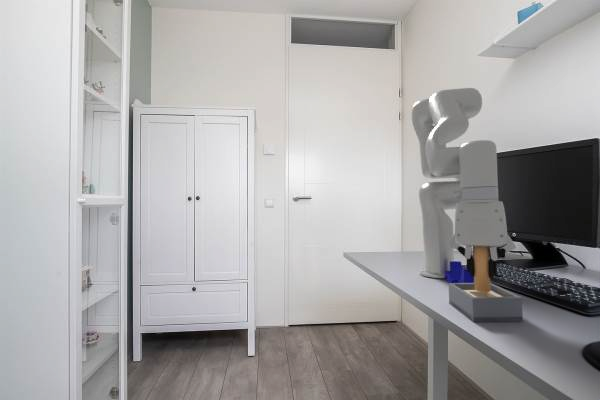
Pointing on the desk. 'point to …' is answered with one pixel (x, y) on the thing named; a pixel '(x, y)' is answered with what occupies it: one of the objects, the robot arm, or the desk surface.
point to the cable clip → (458, 274)
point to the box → (485, 303)
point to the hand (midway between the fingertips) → (481, 275)
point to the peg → (481, 269)
